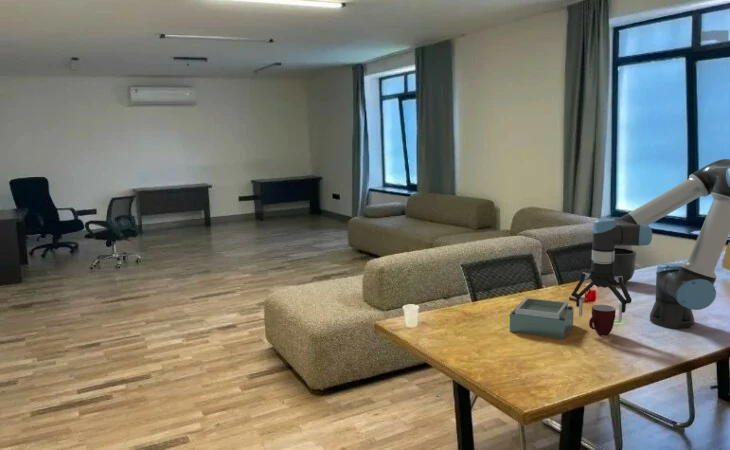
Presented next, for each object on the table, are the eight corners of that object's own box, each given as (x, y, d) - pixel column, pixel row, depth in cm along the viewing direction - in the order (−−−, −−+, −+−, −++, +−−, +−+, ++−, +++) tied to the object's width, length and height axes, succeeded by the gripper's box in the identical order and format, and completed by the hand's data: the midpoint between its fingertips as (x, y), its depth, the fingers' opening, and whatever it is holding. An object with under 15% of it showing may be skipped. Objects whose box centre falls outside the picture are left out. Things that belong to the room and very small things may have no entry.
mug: (601, 341, 203) (602, 314, 202) (582, 334, 210) (582, 308, 208) (619, 334, 209) (620, 308, 207) (600, 328, 215) (600, 303, 214)
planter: (592, 278, 286) (593, 247, 284) (628, 278, 284) (629, 247, 281) (601, 287, 269) (602, 254, 267) (640, 287, 267) (641, 254, 265)
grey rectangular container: (573, 324, 221) (573, 302, 219) (564, 339, 206) (564, 315, 205) (521, 318, 231) (521, 296, 229) (509, 331, 216) (509, 308, 215)
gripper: (641, 262, 202) (638, 320, 205) (568, 256, 214) (566, 310, 218) (640, 267, 195) (636, 326, 199) (564, 260, 208) (562, 316, 211)
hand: (599, 318), depth 208 cm, fingers open, 13 cm apart
